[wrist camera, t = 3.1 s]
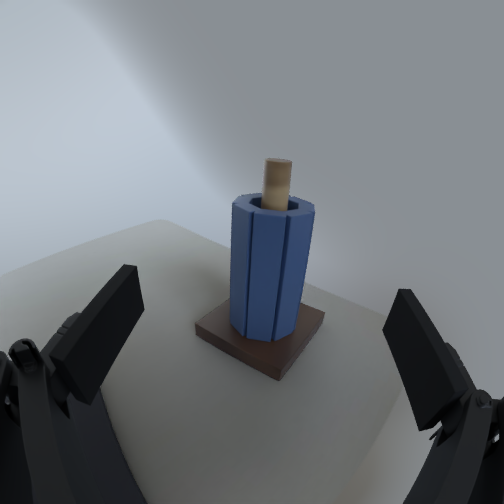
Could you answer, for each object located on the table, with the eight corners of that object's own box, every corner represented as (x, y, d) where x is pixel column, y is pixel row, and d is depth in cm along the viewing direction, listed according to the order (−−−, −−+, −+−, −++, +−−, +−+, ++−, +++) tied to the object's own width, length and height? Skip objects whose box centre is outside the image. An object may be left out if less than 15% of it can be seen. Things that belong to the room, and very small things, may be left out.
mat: (159, 522, 8) (155, 521, 8) (13, 536, 2) (6, 533, 2) (95, 371, 19) (92, 365, 18) (-8, 393, 12) (-12, 388, 12)
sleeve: (308, 324, 24) (330, 210, 20) (255, 350, 21) (267, 221, 16) (269, 293, 29) (279, 190, 24) (219, 311, 26) (219, 197, 21)
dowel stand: (322, 323, 27) (353, 167, 20) (278, 381, 20) (312, 177, 13) (250, 293, 31) (259, 151, 24) (195, 334, 24) (187, 158, 18)
